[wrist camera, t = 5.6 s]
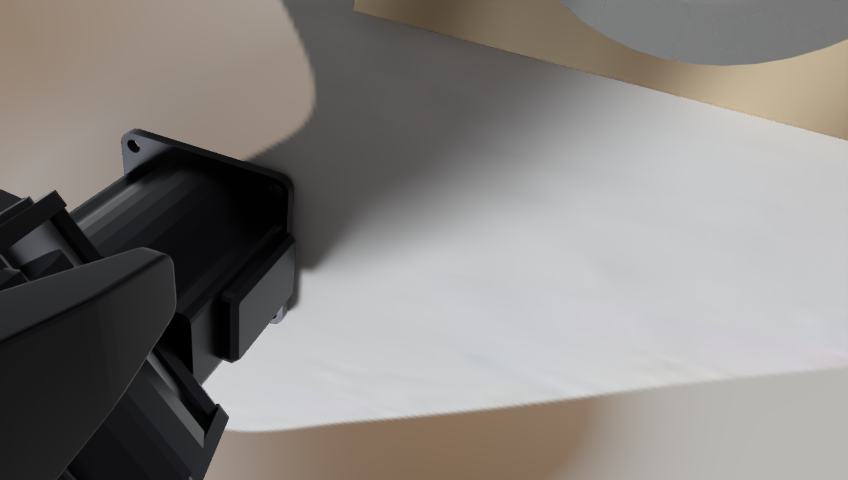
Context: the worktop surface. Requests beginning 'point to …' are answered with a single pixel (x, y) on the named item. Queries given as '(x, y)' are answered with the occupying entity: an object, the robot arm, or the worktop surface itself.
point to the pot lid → (718, 27)
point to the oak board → (641, 59)
